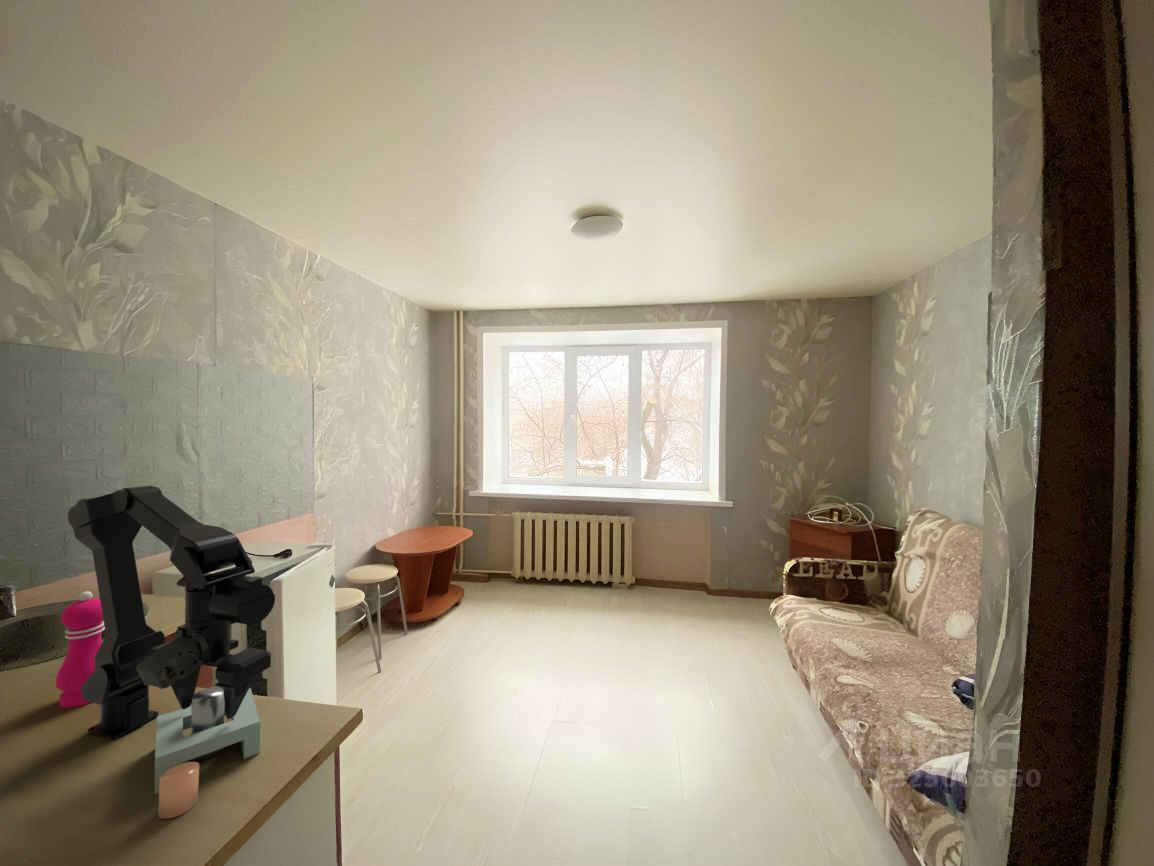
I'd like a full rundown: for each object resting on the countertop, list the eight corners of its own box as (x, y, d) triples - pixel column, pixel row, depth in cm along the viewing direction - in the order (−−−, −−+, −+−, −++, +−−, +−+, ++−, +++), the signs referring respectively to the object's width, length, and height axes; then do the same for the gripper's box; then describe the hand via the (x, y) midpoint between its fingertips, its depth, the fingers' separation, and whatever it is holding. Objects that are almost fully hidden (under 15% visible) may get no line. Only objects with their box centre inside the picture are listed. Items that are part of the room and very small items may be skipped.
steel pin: (184, 756, 69) (184, 699, 69) (210, 739, 73) (211, 684, 73) (203, 761, 68) (204, 703, 68) (229, 744, 72) (230, 688, 72)
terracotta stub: (149, 819, 58) (151, 783, 58) (175, 795, 62) (176, 762, 62) (181, 818, 58) (183, 782, 58) (205, 794, 62) (206, 761, 62)
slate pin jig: (157, 747, 71) (157, 716, 70) (250, 715, 79) (250, 687, 79) (154, 794, 62) (154, 758, 62) (259, 752, 70) (260, 721, 70)
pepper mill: (74, 712, 79) (74, 600, 79) (44, 706, 80) (44, 597, 80) (123, 689, 86) (123, 586, 86) (94, 684, 87) (95, 583, 87)
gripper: (101, 629, 64) (100, 736, 64) (200, 646, 60) (199, 760, 60) (185, 600, 75) (184, 692, 75) (274, 613, 71) (273, 710, 71)
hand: (208, 712), depth 70 cm, fingers open, 9 cm apart
